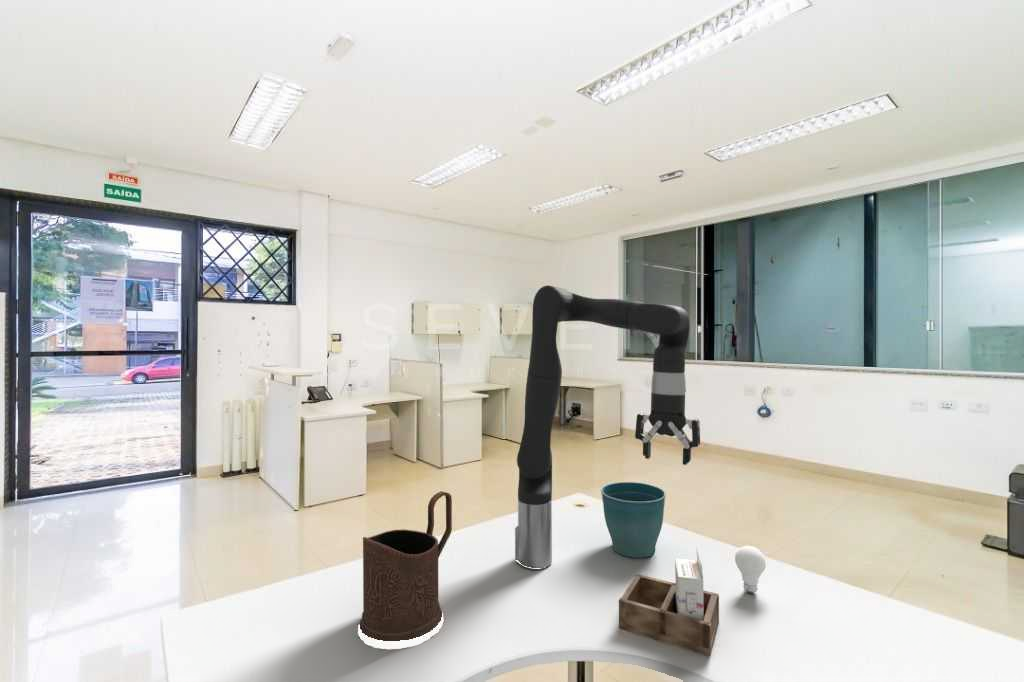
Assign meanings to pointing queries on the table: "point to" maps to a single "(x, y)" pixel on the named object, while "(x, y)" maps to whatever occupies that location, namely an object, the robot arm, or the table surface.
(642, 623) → the walnut rack
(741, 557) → the light bulb
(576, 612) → the table surface
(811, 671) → the table surface
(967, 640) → the table surface
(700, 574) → the ink cartridge box
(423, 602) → the cup holder
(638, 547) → the flower pot
